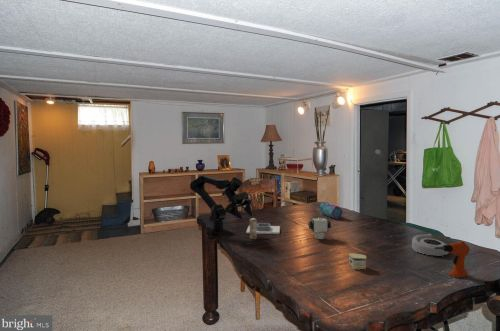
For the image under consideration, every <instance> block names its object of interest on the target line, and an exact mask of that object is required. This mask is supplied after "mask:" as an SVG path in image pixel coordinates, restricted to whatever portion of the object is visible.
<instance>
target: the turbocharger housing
mask: <svg viewBox="0 0 500 331" xmlns="http://www.w3.org/2000/svg"><path fill="white" fill-rule="evenodd" d="M444 245H448V244H447V243H445V242H443V241H441V240H439V239H435V238H433V235H432V234H431V233H427V234H417V235H415V236H413V237H412V240H411V249H412V250H413V251H414V252H416V253H417V252H419V253H418V254H420V253H422V254H421V255H423V254H426V255H425V256H427V255H437V256H441V255H446V256H448V255H449V253H450V252H447V251H444V250H441V249H434V248H435V247H443V246H444ZM447 254H448V255H447Z"/></svg>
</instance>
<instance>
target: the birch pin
mask: <svg viewBox="0 0 500 331" xmlns="http://www.w3.org/2000/svg"><path fill="white" fill-rule="evenodd" d="M257 224H258V221H257V218H254V217H253V218H249V226H250V234H249V239H250V240H256V239H258V234H257Z"/></svg>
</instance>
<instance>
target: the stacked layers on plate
mask: <svg viewBox="0 0 500 331" xmlns="http://www.w3.org/2000/svg"><path fill="white" fill-rule="evenodd" d="M348 255H349V257H348V258H349V261H348V263H349V264H350V265H351V269H352V268H353V269H352V270H354V269H357V270H360V269H365V270H366V267H367V264H366V262H367V256H366V255H365V254H360V253H349V254H348Z"/></svg>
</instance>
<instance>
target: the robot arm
mask: <svg viewBox="0 0 500 331" xmlns="http://www.w3.org/2000/svg"><path fill="white" fill-rule="evenodd" d="M205 184H209V185H212V186H215V188H217V189H218V190H221V191H222V192H221V196H223V197H224V196H225V197H226V198H227V199H228V200H227V201H228V204H227V205H226V207H224V206H223V205H222V204H217V203H216V201H215V200H214V199H213V198H212V197H211V196H210V194H209V193H208V192H207V191H206V190H205ZM242 185H243V182H242V180H241V179H239V178H237V177H236V176H235V177H232V179H231V180H229V179H228V178H221V179H220V178H216V177H211V176H209V175H207V174H204V175H203V174H201V175H199V176H198V177H197V178H196V179H194V180H193V181H191V182H190V184H189V188H190V190H191V191H192V192H193V193H195V194H198V195H199V197H200V198H201V199H202V200H203V202H204V203H205V204H206V205H207V206H208V209H210V214H211V215H210V216H209V221H210V222H211V228H210V231H213V232H220V231H223V230H225V227H224V221H223V220H225V218H226V216H227V214H230V215H232V216H234V217H236V218H237V219H239V220H242V219H243V217H242V215H241V213H240V212H239V210H238V208H240V207H241V208H242V209H243V211H245V212H246V214H248V215H249V216H250V217H252V216H253V212H252V210H251V209H252V208H251V205H252V202H253V201H252V200H251V199H250V198H248V196H249V193H248V192H247V191H243V192H241V193H239V194H238V193H236V192H238V190H239V189H240V188H241V187H242Z"/></svg>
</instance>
